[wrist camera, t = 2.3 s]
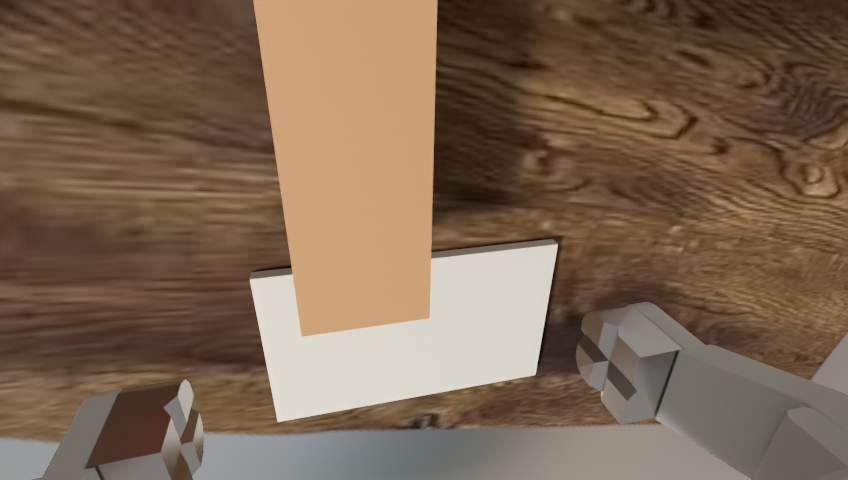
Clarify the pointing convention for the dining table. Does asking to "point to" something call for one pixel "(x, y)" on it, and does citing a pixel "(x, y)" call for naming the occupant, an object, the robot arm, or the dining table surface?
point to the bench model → (354, 154)
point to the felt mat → (412, 334)
